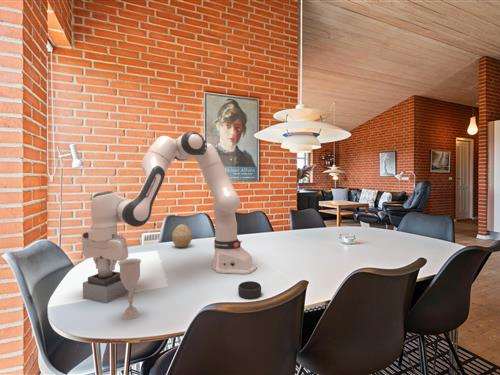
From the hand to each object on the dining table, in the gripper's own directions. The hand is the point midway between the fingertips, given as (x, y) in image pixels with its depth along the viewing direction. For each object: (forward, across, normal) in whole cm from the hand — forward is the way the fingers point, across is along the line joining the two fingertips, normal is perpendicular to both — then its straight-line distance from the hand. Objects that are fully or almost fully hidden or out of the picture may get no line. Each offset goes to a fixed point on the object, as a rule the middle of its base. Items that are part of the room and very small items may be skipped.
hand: (105, 269), depth 109 cm
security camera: (+2, 0, 0) cm, 2 cm away
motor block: (+10, +2, 0) cm, 10 cm away
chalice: (+10, -21, +9) cm, 25 cm away
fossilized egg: (+10, +16, -74) cm, 76 cm away
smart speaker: (+10, -52, -20) cm, 57 cm away
